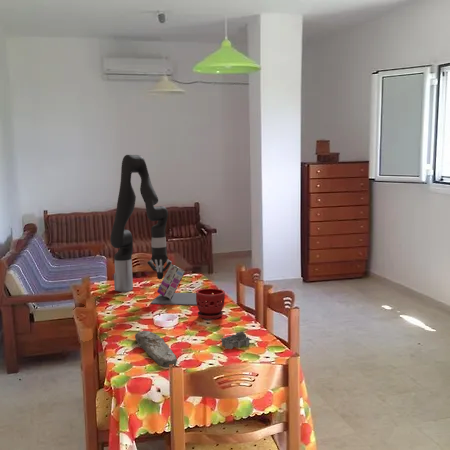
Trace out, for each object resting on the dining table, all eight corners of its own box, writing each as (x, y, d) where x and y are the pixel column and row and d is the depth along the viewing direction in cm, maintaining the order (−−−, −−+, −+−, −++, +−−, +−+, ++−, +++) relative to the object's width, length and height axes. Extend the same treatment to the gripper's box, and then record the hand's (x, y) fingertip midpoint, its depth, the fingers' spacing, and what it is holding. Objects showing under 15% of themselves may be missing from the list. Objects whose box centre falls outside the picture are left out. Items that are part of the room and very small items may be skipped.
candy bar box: (171, 300, 273) (186, 271, 274) (163, 296, 270) (177, 267, 272) (164, 295, 283) (178, 266, 284) (156, 291, 280) (170, 263, 282)
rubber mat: (150, 304, 269) (150, 302, 268) (162, 293, 288) (162, 292, 288) (197, 305, 264) (197, 304, 264) (205, 294, 284) (205, 293, 284)
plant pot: (222, 321, 239) (221, 295, 238) (193, 320, 242) (192, 294, 240) (227, 312, 252) (227, 287, 250) (200, 311, 255) (199, 286, 253)
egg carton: (244, 340, 216) (244, 330, 216) (251, 346, 210) (251, 336, 209) (219, 344, 213) (219, 334, 212) (226, 350, 206) (226, 340, 205)
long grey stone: (157, 374, 189) (183, 370, 193) (157, 360, 188) (184, 356, 192) (129, 338, 220) (152, 335, 224) (129, 325, 219) (153, 323, 223)
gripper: (144, 247, 270) (145, 280, 273) (169, 247, 268) (170, 281, 270) (148, 244, 278) (150, 277, 280) (173, 244, 275) (174, 277, 278)
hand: (160, 279), depth 275 cm, fingers closed
